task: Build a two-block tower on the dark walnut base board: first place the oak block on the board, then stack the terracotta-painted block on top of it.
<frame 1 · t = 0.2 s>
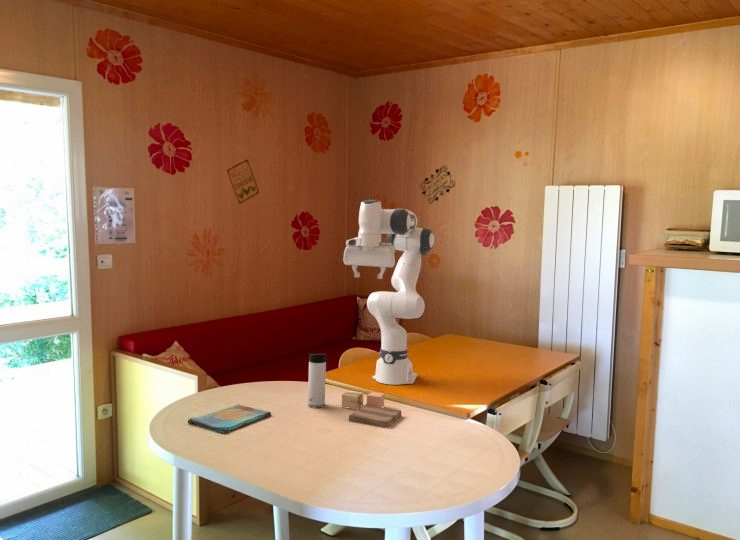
hand: (368, 277, 228), 47 cm above the table, fingers open, 8 cm apart
terracotta block: (375, 407, 221), on the table
travel mug: (316, 406, 220), on the table
oak block: (352, 406, 221), on the table
dish towel: (230, 421, 202), on the table
base board: (375, 418, 208), on the table
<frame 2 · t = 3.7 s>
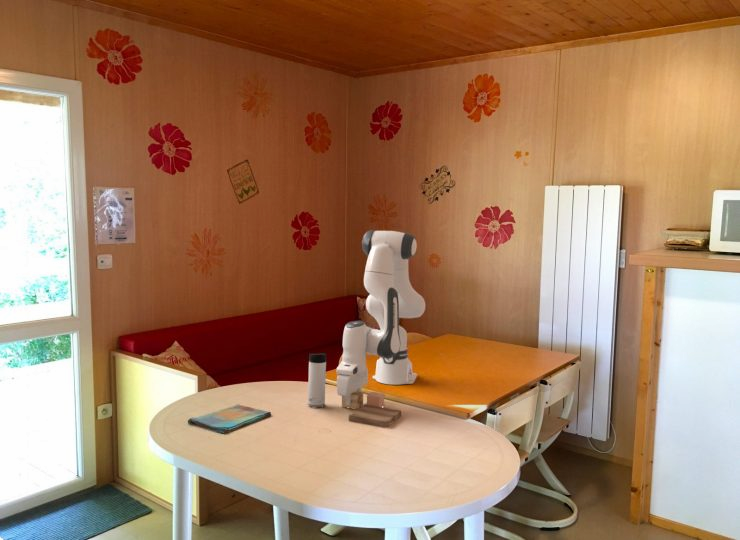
hand: (352, 401, 221), 2 cm above the table, fingers closed on oak block, 6 cm apart
oak block: (352, 406, 221), on the table, touching gripper
everything else where it was.
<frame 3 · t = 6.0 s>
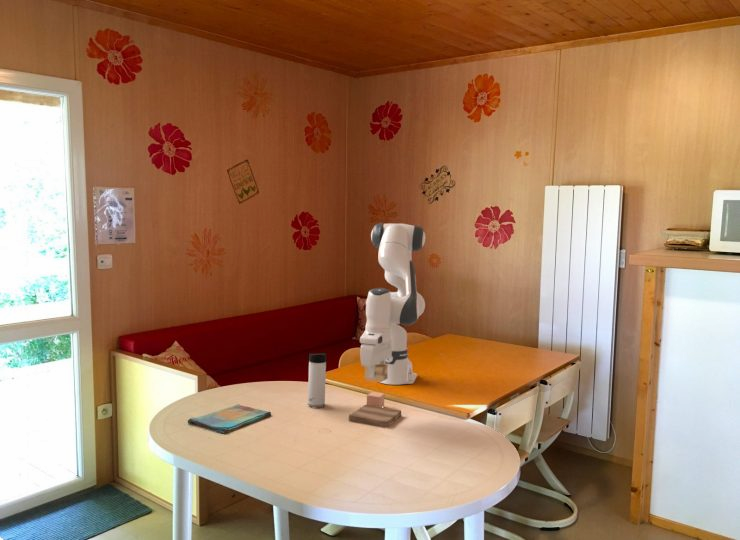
hand: (376, 374, 207), 16 cm above the table, fingers closed on oak block, 6 cm apart
oak block: (376, 379, 207), point 14 cm above the table, touching gripper
everything else where it was.
when the fingers open (5 cm above the table, at t = 8.5 s): oak block stays where it is, resting on base board.
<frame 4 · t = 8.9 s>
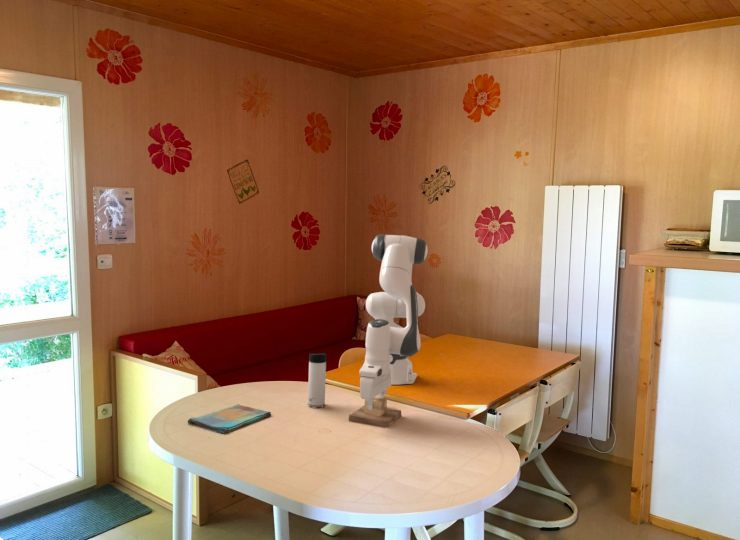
hand: (375, 405, 208), 5 cm above the table, fingers open, 8 cm apart
oak block: (375, 412, 208), point 2 cm above the table, touching base board
everything else where it was.
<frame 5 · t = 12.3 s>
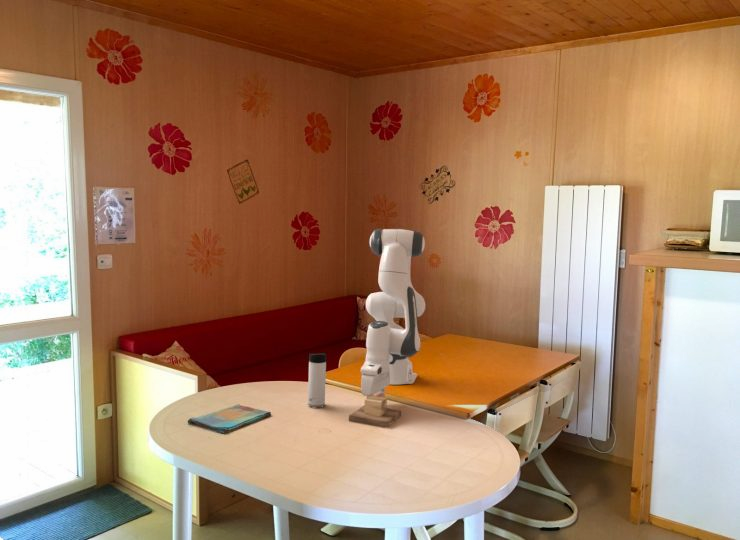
hand: (376, 402, 221), 2 cm above the table, fingers open, 8 cm apart
nothing on the table moved.
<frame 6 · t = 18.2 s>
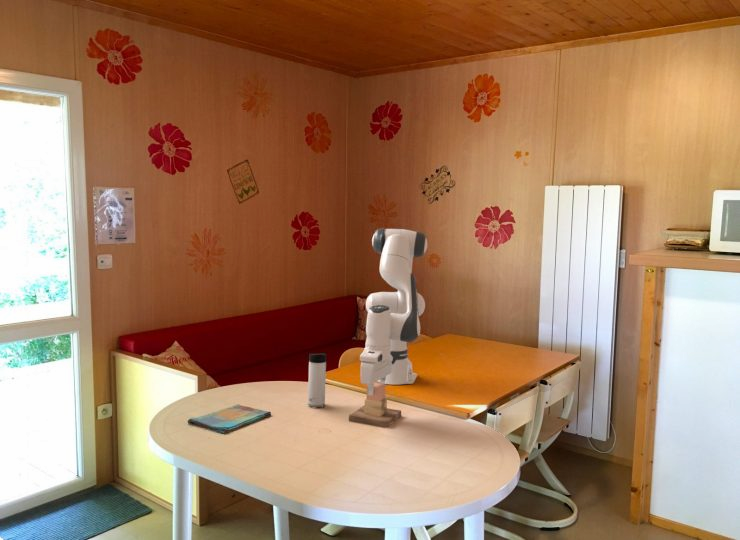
hand: (376, 391, 207), 10 cm above the table, fingers open, 8 cm apart
terracotta block: (375, 398, 208), point 7 cm above the table, touching oak block
oak block: (375, 412, 208), point 2 cm above the table, touching base board, terracotta block
everything else where it was.
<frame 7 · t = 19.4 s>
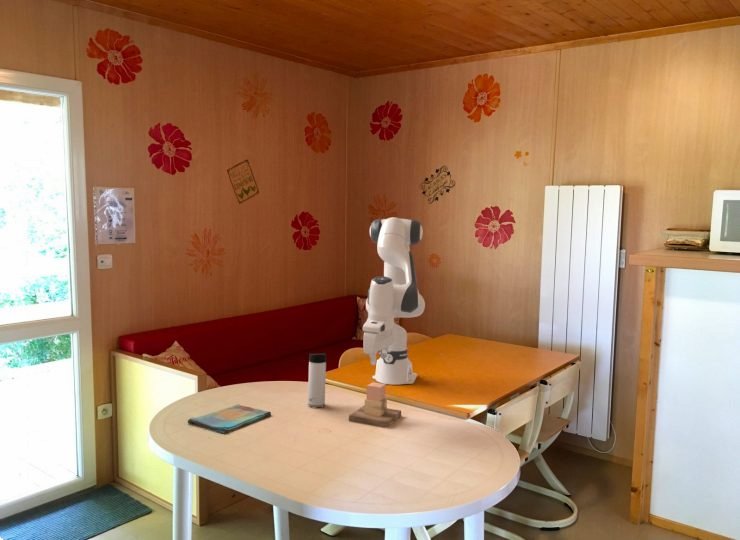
hand: (378, 361, 211), 19 cm above the table, fingers open, 8 cm apart
nothing on the table moved.
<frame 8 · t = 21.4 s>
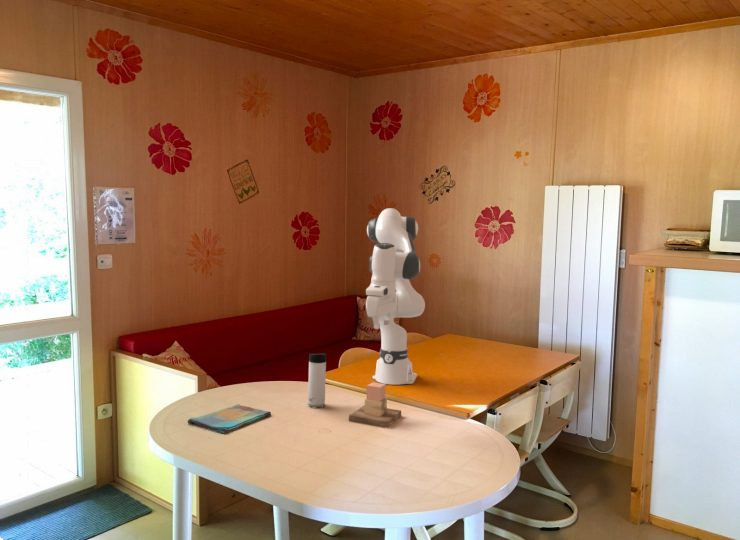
hand: (381, 326, 214), 31 cm above the table, fingers open, 8 cm apart
nothing on the table moved.
at the end: oak block inside the target area on the base board (0.1 cm from its centre), point 2.0 cm above the base board's base; terracotta block 0.0 cm off-centre on the oak block, point 5.0 cm above the oak block's base; terracotta block tilted 0° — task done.
